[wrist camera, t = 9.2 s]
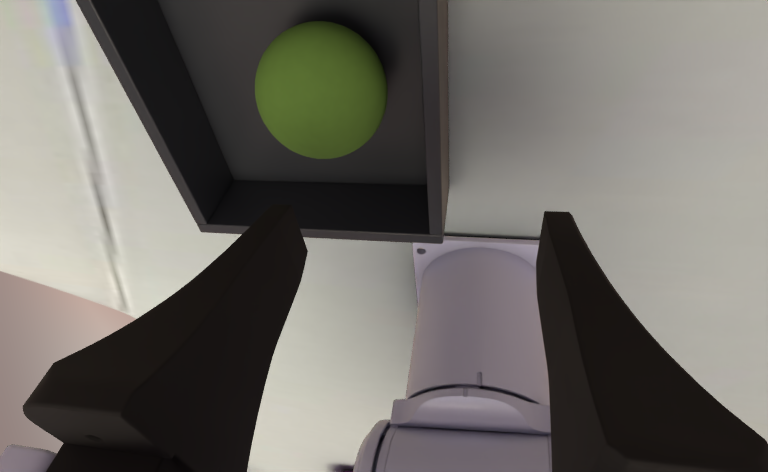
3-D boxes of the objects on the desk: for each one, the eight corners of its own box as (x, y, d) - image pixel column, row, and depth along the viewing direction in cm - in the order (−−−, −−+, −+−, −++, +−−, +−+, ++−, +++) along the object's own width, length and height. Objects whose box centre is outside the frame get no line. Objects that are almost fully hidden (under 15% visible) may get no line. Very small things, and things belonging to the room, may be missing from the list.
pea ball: (359, 83, 22) (412, 153, 19) (258, 125, 21) (302, 204, 18) (343, -24, 18) (410, 47, 15) (216, 22, 17) (265, 106, 14)
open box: (449, 186, 24) (442, 244, 22) (232, 181, 27) (200, 232, 24) (446, -222, 13) (432, -212, 11) (80, -172, 16) (-8, -153, 13)
